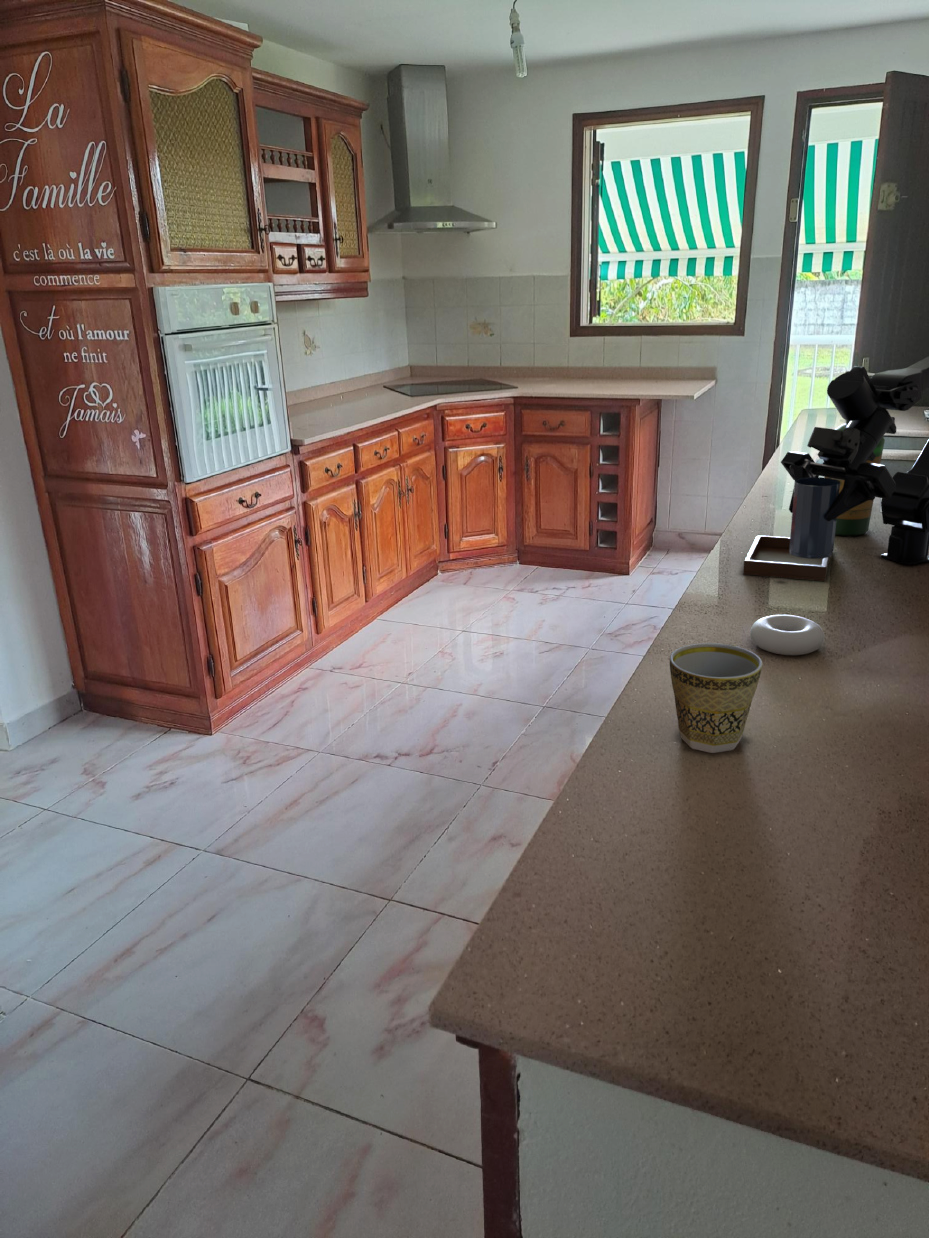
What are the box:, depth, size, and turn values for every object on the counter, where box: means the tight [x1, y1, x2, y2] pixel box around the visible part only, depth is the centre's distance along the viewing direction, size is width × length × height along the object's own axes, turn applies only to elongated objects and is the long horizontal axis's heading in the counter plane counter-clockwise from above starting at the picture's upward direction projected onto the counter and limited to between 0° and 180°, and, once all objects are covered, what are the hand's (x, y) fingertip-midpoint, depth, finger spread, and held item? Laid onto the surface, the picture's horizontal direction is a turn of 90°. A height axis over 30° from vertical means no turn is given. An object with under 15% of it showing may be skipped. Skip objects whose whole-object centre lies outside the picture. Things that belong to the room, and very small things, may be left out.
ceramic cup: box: [668, 642, 763, 754], centre depth 101 cm, size 13×10×10 cm
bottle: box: [823, 420, 886, 537], centre depth 175 cm, size 11×11×28 cm
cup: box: [789, 476, 840, 559], centre depth 144 cm, size 7×7×12 cm
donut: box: [749, 614, 825, 656], centre depth 126 cm, size 10×4×10 cm
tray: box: [742, 534, 831, 582], centre depth 161 cm, size 18×14×3 cm
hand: (808, 515), depth 143 cm, fingers closed on cup, 7 cm apart
